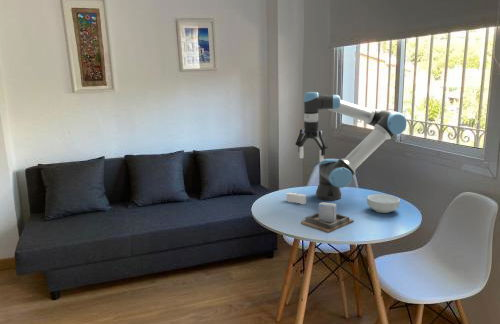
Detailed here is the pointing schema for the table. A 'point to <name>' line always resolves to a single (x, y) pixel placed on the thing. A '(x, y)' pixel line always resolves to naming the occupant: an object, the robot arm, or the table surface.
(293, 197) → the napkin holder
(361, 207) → the table surface
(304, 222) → the wooden tray
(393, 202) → the cereal bowl
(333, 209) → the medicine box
